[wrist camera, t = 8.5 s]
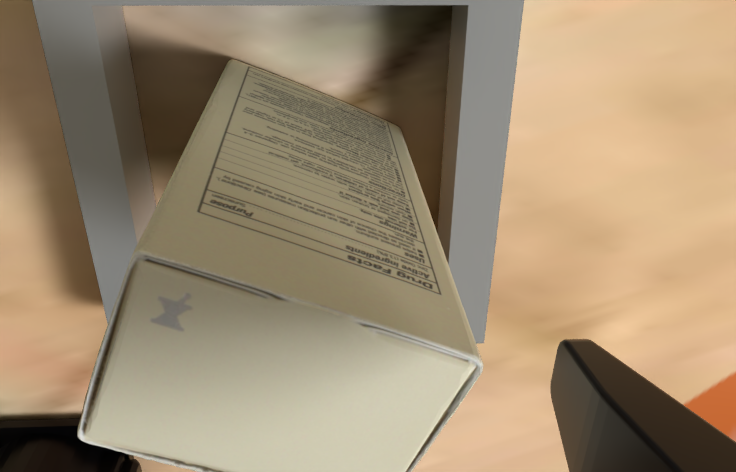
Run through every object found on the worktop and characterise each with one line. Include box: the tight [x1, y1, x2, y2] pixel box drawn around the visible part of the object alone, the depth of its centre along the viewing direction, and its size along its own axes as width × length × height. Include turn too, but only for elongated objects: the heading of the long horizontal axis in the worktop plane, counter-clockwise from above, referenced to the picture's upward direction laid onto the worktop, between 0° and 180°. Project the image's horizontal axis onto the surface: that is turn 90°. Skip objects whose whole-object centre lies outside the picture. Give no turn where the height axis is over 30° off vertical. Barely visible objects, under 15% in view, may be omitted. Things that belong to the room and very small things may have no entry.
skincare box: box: [77, 59, 483, 472], centre depth 16 cm, size 6×4×12 cm
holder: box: [32, 0, 524, 343], centre depth 20 cm, size 13×13×2 cm
